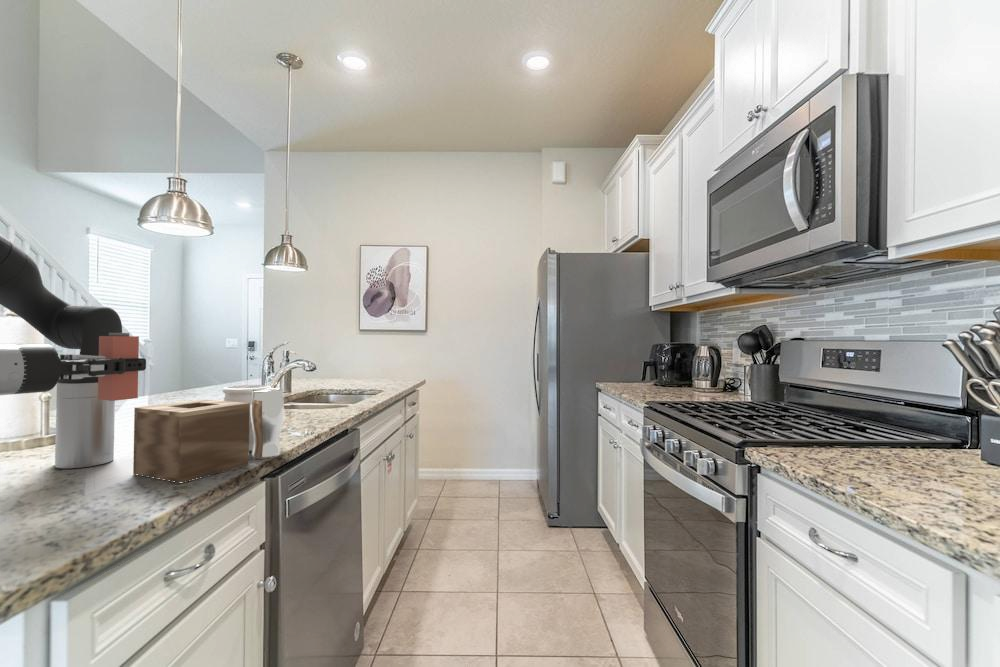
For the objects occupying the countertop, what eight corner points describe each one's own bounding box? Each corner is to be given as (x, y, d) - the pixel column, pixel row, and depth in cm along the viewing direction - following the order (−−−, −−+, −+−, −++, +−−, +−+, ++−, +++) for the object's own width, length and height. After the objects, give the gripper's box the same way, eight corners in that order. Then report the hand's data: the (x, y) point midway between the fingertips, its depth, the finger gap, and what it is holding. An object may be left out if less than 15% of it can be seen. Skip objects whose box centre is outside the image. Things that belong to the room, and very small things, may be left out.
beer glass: (269, 460, 101) (270, 391, 101) (241, 458, 102) (242, 390, 102) (289, 453, 108) (290, 388, 108) (263, 451, 109) (264, 387, 109)
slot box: (133, 474, 90) (134, 407, 90) (203, 457, 103) (204, 399, 103) (181, 483, 84) (182, 412, 85) (248, 464, 97) (249, 403, 97)
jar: (234, 444, 116) (234, 384, 116) (276, 443, 117) (277, 384, 118) (212, 454, 106) (213, 389, 106) (259, 453, 107) (260, 388, 107)
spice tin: (97, 399, 80) (99, 332, 80) (124, 396, 84) (125, 333, 84) (111, 400, 79) (113, 332, 79) (137, 398, 82) (138, 333, 82)
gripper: (34, 344, 65) (162, 343, 81) (-16, 343, 71) (113, 342, 87) (33, 397, 65) (161, 386, 81) (-17, 392, 71) (112, 382, 87)
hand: (136, 363), depth 84 cm, fingers closed on spice tin, 4 cm apart
